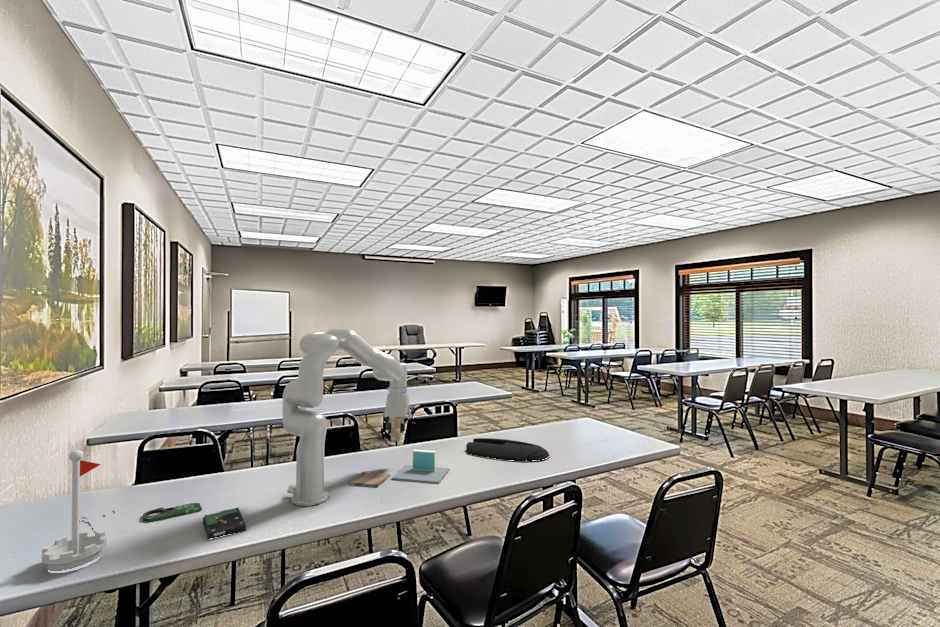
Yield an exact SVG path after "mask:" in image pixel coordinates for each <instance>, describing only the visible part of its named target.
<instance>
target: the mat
mask: <svg viewBox="0 0 940 627" xmlns="http://www.w3.org/2000/svg"><path fill="white" fill-rule="evenodd" d="M450 470H451V469H450V468H448V467H437V466H436V471H424V470H413V464H412V465H411V464H405V465H404V466H403V467H402V468H400V469H399V470H398V471H397V472H396V473H395V474H394V475H393V476H392V477H391V480H392V479H396V480H395V481H402V480H407V481H406V482H413V481H416V482H415V483H425V484H426V483H427V484H428V483H429V484H436V483H437V484H436V485H439V484H440V483H441V482H442V481H443V479H444V478H445V477H446V475H448V473H449V472H450ZM448 471H449V472H448ZM444 476H445V477H444ZM441 480H442V481H441Z"/></svg>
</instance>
